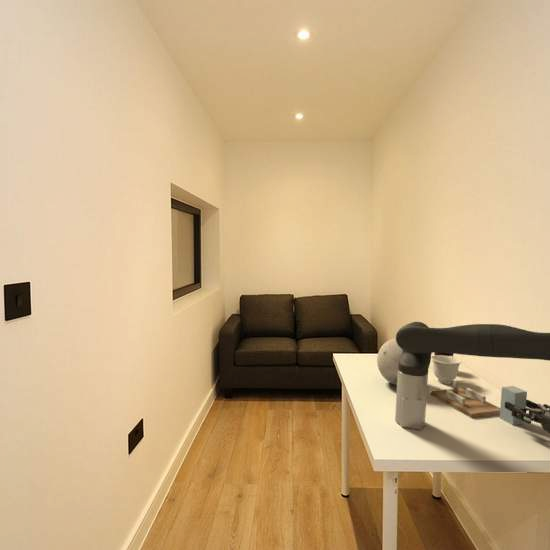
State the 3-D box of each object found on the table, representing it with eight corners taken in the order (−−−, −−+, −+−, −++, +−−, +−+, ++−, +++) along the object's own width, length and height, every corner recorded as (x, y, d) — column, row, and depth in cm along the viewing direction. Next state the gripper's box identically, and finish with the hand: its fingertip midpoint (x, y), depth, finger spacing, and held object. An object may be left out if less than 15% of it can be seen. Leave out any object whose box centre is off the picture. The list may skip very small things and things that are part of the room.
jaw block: (524, 423, 119) (527, 391, 118) (512, 425, 117) (515, 392, 117) (510, 416, 124) (513, 386, 123) (499, 418, 122) (501, 387, 121)
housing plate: (503, 414, 125) (504, 396, 125) (471, 417, 122) (472, 399, 121) (459, 391, 145) (461, 376, 144) (430, 394, 141) (432, 378, 140)
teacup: (465, 379, 158) (466, 358, 158) (455, 389, 147) (456, 365, 147) (436, 373, 166) (438, 352, 166) (425, 381, 155) (427, 358, 155)
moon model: (418, 399, 136) (421, 347, 135) (368, 385, 148) (370, 338, 147) (431, 384, 152) (434, 338, 151) (385, 373, 164) (387, 330, 163)
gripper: (585, 412, 105) (532, 390, 121) (549, 417, 101) (499, 394, 117) (582, 436, 106) (530, 412, 121) (546, 442, 102) (497, 416, 118)
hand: (515, 403), depth 119 cm, fingers open, 8 cm apart
